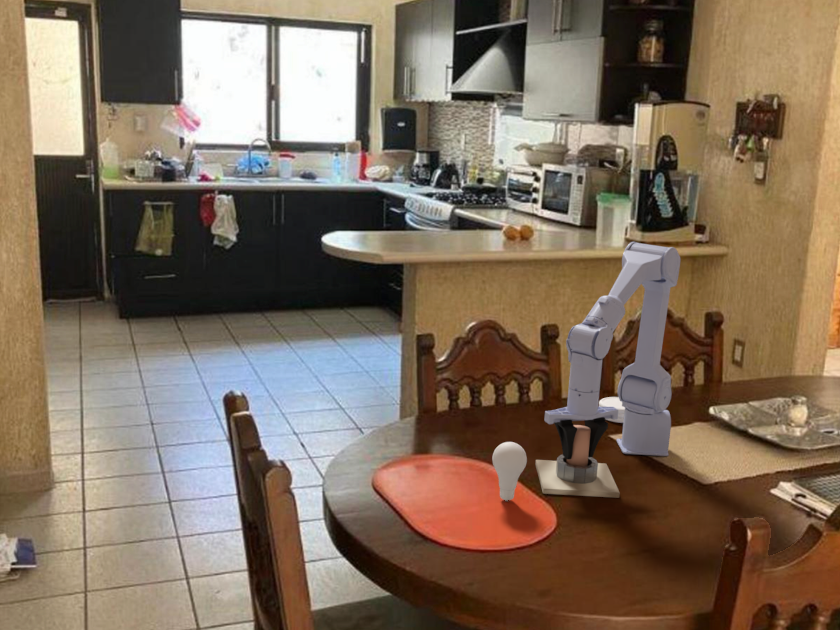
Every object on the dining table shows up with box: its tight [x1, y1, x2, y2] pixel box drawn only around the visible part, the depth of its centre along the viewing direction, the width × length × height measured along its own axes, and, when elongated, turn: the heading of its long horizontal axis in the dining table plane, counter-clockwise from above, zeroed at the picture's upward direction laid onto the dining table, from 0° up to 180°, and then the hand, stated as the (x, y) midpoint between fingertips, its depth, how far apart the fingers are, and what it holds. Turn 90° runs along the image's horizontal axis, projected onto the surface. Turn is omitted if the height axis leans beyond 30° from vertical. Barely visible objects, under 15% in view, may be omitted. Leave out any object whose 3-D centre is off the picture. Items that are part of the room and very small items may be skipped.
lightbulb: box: [491, 441, 528, 502], centre depth 159 cm, size 6×6×11 cm
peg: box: [566, 424, 591, 467], centre depth 170 cm, size 4×4×8 cm
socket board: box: [534, 453, 621, 499], centre depth 171 cm, size 14×14×4 cm
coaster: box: [598, 396, 625, 424], centre depth 209 cm, size 10×10×4 cm
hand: (577, 456), depth 170 cm, fingers closed on peg, 4 cm apart
